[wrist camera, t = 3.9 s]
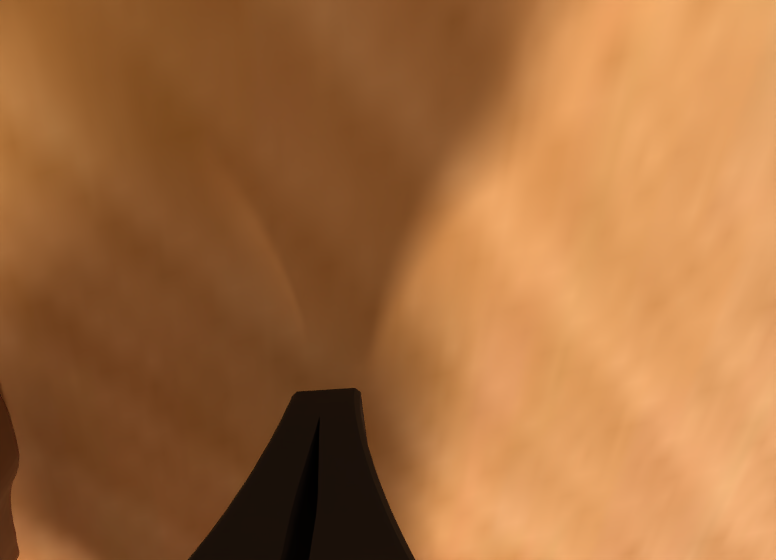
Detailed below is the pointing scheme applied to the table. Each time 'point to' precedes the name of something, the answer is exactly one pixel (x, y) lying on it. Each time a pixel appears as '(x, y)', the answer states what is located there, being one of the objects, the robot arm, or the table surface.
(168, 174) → the table surface
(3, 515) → the plant
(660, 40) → the table surface
